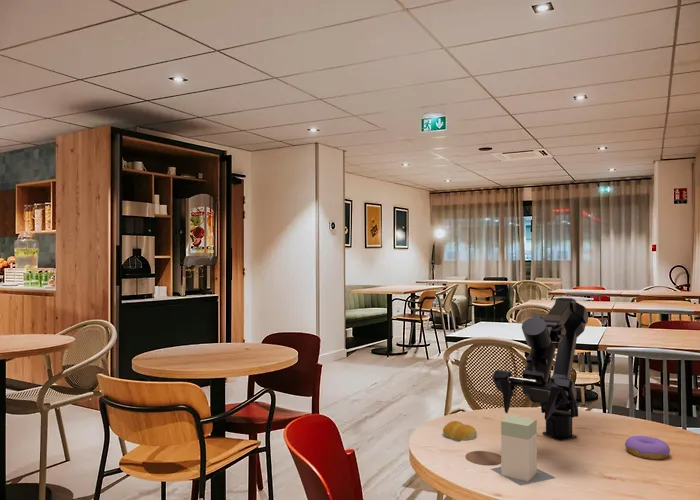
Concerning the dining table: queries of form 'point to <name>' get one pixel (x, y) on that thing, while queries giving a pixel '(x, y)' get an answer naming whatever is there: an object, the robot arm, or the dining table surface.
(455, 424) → the bread roll
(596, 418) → the dining table surface
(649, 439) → the donut
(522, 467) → the carton
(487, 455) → the disc
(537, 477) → the mat
